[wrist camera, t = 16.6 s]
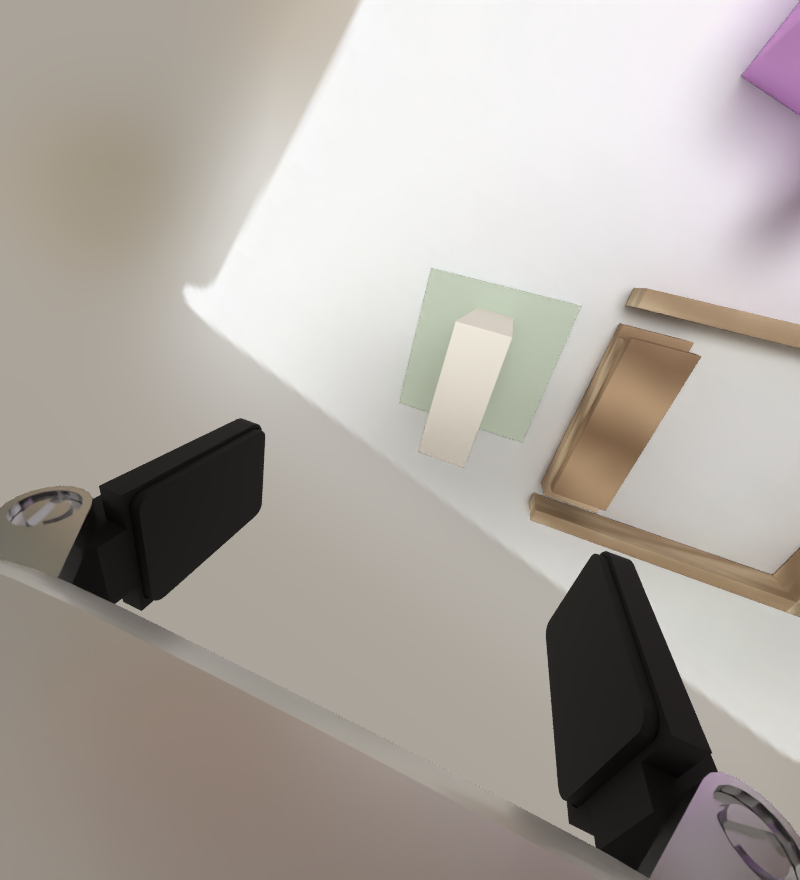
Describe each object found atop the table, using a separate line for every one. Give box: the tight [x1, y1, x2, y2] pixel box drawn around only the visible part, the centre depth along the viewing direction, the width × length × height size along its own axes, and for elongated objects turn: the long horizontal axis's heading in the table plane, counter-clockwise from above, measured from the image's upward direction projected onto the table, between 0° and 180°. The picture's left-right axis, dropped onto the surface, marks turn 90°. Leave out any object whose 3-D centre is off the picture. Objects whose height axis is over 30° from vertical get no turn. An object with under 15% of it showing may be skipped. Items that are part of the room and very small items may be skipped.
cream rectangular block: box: [418, 308, 514, 468], centre depth 25 cm, size 8×3×12 cm, turn 166°
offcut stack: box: [541, 324, 701, 513], centre depth 28 cm, size 15×5×4 cm, turn 167°
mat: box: [399, 268, 581, 443], centre depth 31 cm, size 12×12×1 cm
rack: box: [529, 288, 800, 617], centre depth 27 cm, size 20×22×3 cm
